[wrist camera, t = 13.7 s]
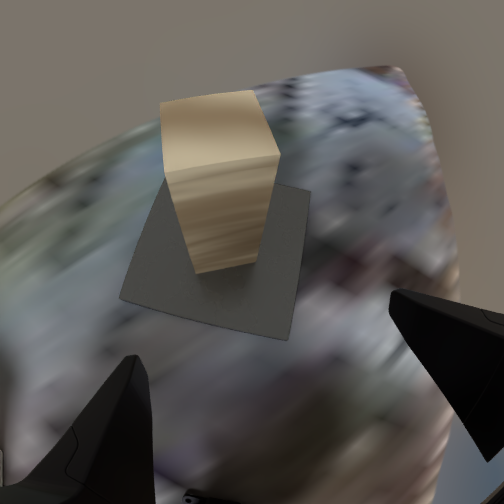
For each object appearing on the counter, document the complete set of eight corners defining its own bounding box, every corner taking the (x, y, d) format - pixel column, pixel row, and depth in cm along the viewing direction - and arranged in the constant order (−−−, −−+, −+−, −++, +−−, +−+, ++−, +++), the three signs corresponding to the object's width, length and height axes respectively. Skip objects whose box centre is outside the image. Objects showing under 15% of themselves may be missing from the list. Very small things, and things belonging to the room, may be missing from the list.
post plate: (286, 340, 22) (297, 334, 18) (121, 299, 22) (102, 285, 19) (309, 195, 28) (319, 169, 24) (172, 167, 28) (165, 140, 24)
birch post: (256, 261, 24) (280, 154, 12) (195, 274, 23) (164, 172, 11) (242, 210, 26) (252, 90, 14) (186, 220, 25) (159, 103, 13)
